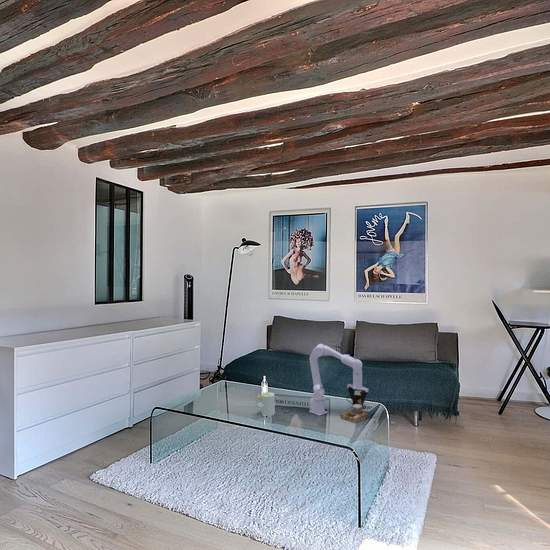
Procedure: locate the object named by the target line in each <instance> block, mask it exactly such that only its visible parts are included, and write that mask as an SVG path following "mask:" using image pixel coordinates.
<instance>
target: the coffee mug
mask: <svg viewBox="0 0 550 550" xmlns="http://www.w3.org/2000/svg"><path fill="white" fill-rule="evenodd" d="M360 392H362V391H361V390H355V393H354V400H351V401H352V402H351V401H349V399H348V398H349V397H350V398H351V396H350V394H349V395H347V396H346V401H347V402H348V403H350V404H352V406H353V405H355V404H359V405H362V410H363V409H364V403H365V402H364V403H361V394H360Z"/></svg>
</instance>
